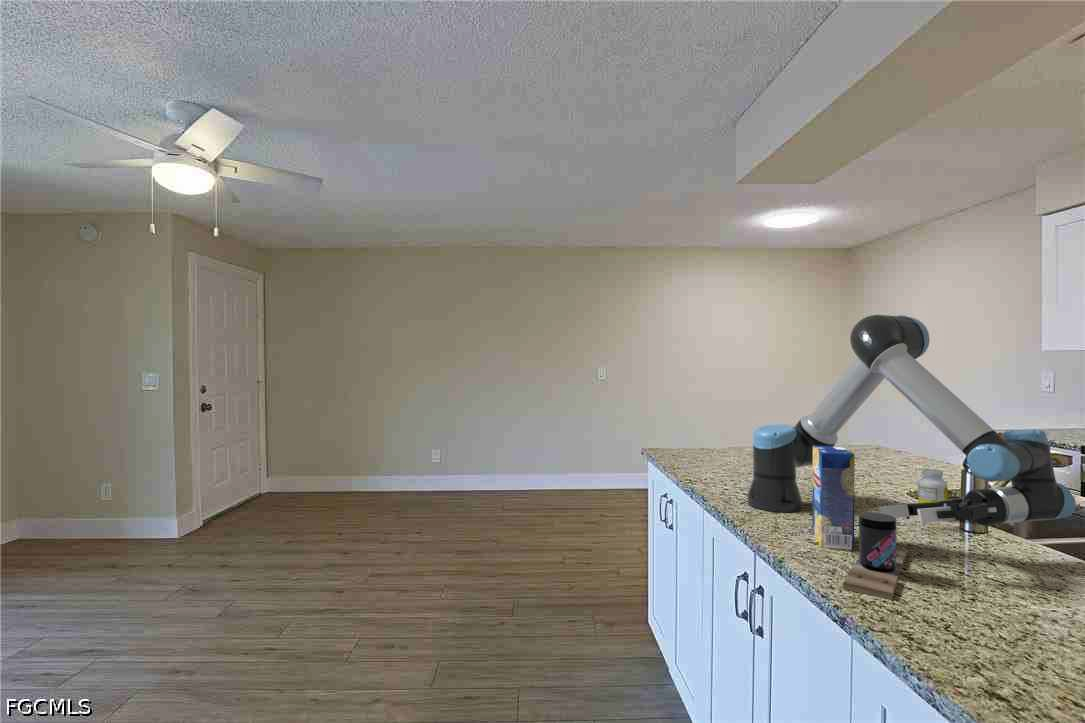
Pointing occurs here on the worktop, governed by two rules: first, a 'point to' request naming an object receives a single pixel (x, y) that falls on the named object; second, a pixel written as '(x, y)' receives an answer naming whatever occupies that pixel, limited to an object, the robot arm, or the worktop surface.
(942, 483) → the supplement bottle
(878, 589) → the hinge leaves
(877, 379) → the robot arm
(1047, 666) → the worktop surface
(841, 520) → the beverage box
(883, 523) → the supplement container
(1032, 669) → the worktop surface
